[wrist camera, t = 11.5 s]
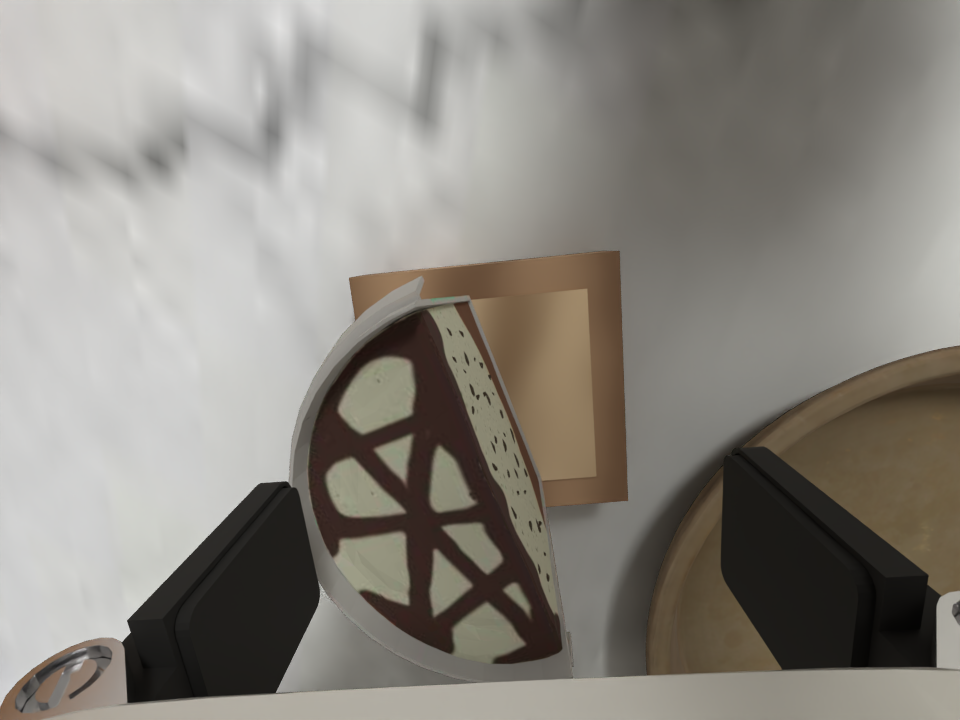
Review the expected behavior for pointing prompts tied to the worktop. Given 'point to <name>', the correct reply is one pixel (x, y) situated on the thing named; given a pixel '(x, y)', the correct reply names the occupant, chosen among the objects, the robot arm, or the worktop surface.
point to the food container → (429, 496)
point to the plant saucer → (843, 477)
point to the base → (547, 358)
